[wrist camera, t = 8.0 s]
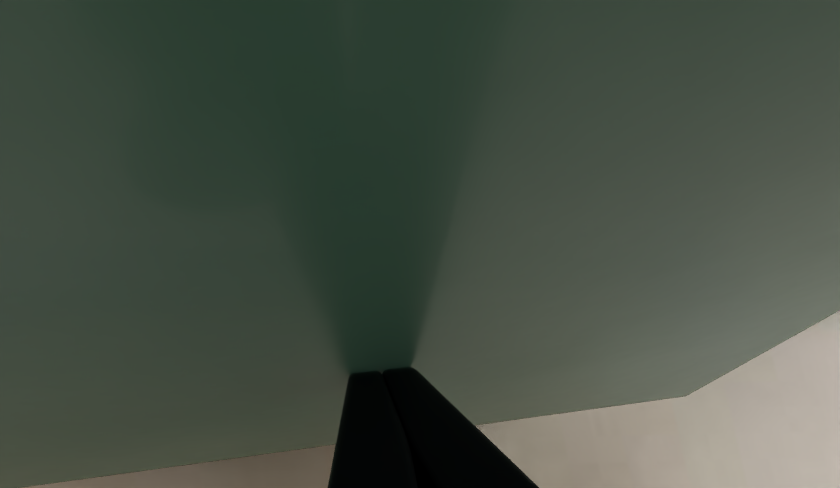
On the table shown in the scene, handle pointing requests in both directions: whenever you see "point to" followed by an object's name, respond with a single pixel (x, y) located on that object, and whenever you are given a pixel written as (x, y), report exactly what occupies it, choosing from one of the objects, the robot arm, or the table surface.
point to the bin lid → (395, 211)
